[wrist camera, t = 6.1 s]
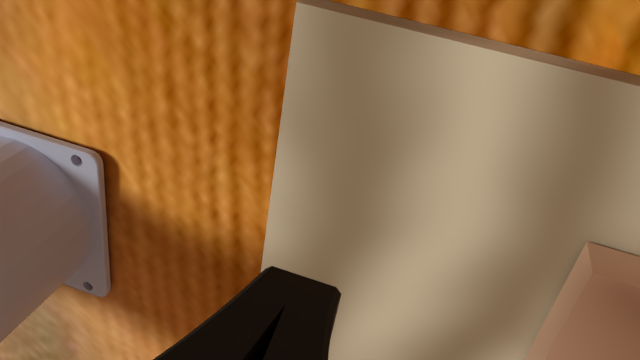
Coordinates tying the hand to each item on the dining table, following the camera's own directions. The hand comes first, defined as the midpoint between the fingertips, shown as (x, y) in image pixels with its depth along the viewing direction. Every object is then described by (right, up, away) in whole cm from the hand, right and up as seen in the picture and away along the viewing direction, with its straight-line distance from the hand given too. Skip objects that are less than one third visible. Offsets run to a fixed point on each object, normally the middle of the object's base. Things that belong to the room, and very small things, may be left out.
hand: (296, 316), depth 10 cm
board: (+7, -1, +10) cm, 12 cm away
